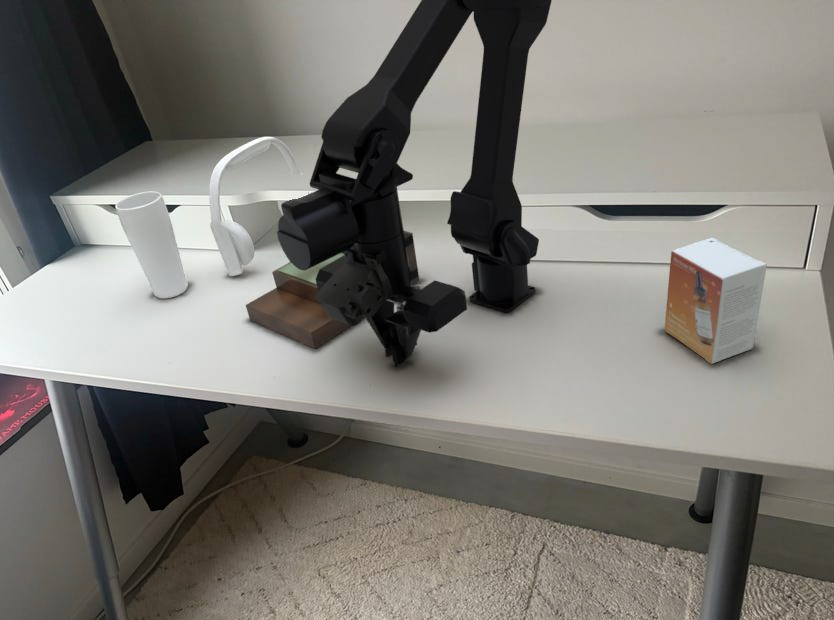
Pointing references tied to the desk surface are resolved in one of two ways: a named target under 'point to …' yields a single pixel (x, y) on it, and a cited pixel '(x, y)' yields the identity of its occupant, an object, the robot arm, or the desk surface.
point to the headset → (228, 233)
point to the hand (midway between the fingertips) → (398, 352)
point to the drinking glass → (153, 242)
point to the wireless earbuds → (393, 345)
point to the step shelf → (301, 304)
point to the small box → (714, 299)
